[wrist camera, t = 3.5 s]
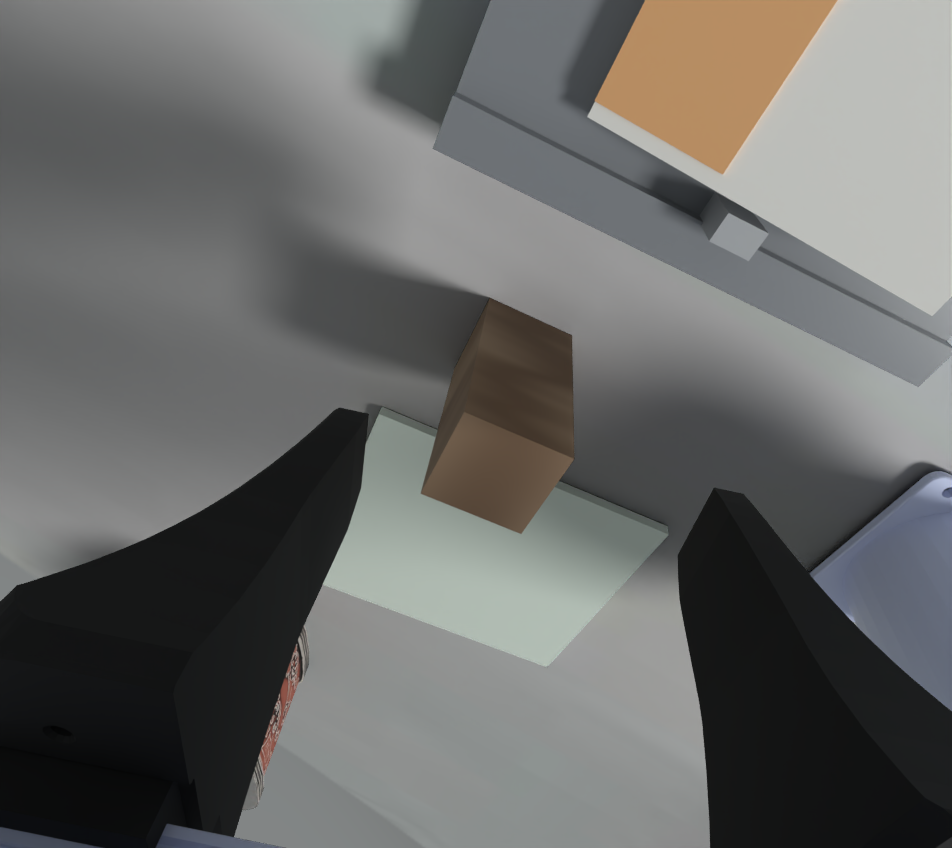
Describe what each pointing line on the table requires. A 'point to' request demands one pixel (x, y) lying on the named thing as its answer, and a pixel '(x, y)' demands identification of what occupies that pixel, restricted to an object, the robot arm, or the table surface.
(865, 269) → the rocker switch
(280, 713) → the lighter
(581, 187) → the switch panel
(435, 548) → the mat
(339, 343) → the table surface
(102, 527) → the table surface
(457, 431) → the wooden brick
